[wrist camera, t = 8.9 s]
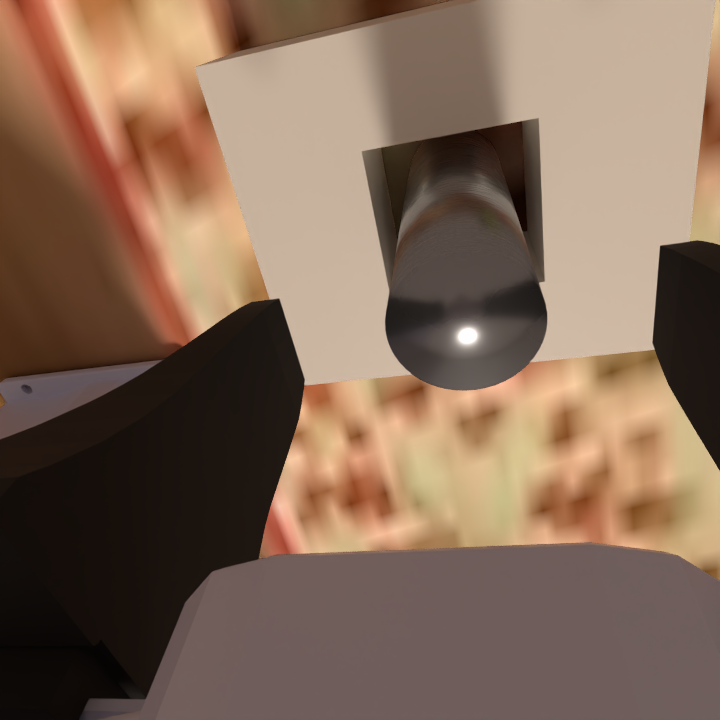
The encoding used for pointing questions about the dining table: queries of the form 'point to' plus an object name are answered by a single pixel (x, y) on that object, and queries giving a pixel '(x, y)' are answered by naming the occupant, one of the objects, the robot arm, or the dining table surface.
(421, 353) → the steel pin
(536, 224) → the block
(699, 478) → the dining table surface
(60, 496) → the robot arm
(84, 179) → the dining table surface
